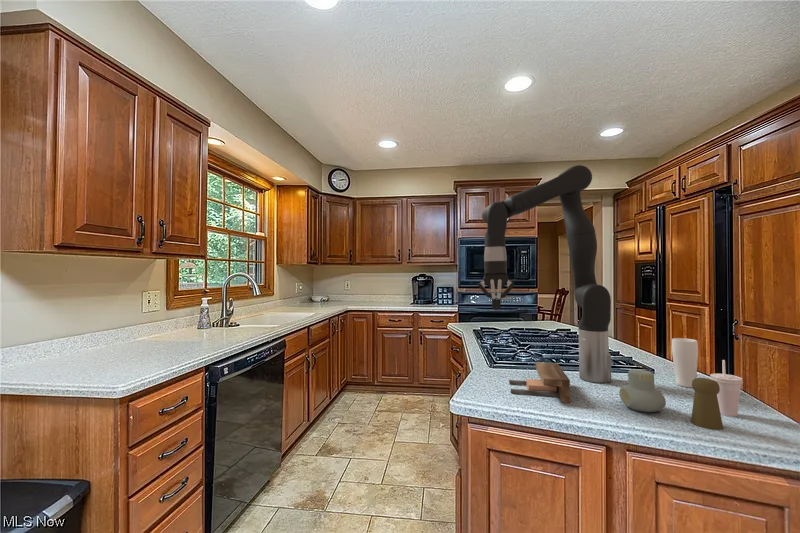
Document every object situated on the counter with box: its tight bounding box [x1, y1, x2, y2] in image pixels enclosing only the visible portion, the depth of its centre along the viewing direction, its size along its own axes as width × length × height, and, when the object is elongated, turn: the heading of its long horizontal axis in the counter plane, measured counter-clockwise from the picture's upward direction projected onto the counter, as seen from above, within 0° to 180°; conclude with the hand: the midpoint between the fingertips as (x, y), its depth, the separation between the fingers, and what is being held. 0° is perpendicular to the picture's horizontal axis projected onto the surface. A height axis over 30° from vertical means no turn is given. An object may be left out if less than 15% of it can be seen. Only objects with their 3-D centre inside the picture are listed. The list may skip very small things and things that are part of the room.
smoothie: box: [709, 359, 744, 418], centre depth 93 cm, size 6×6×14 cm
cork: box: [690, 377, 724, 431], centre depth 87 cm, size 6×6×11 cm
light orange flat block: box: [525, 378, 557, 392], centre depth 112 cm, size 8×7×2 cm
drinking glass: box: [671, 337, 699, 389], centre depth 117 cm, size 7×7×15 cm
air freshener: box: [618, 368, 667, 413], centre depth 97 cm, size 11×8×10 cm
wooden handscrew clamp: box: [508, 361, 571, 404], centre depth 113 cm, size 16×20×6 cm
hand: (496, 309), depth 124 cm, fingers closed
